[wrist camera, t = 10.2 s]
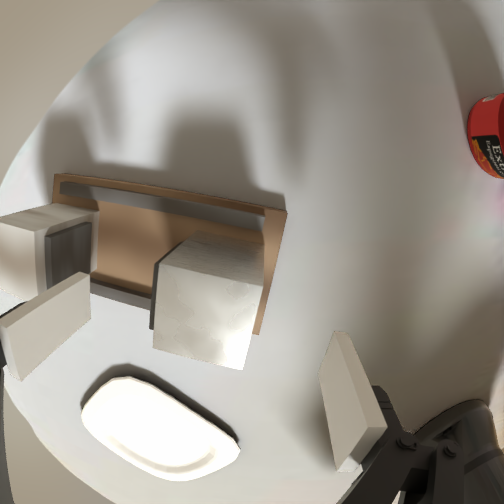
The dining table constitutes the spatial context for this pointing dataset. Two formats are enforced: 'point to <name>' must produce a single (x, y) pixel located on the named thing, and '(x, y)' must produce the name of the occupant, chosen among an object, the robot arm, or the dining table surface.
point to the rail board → (122, 237)
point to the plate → (156, 430)
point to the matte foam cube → (207, 298)
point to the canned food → (488, 134)
